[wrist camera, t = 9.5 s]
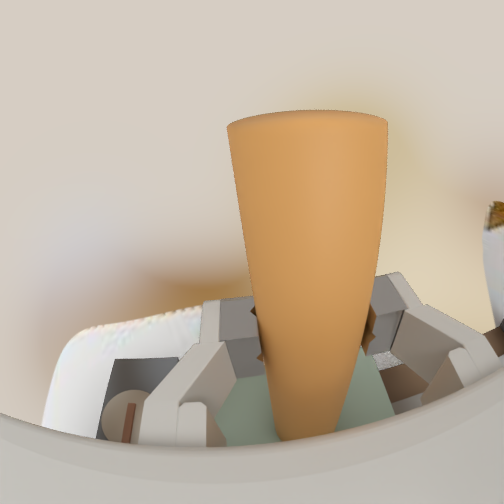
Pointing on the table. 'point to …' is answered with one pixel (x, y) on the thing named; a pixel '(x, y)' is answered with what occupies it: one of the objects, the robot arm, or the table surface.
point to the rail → (156, 369)
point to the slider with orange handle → (309, 271)
